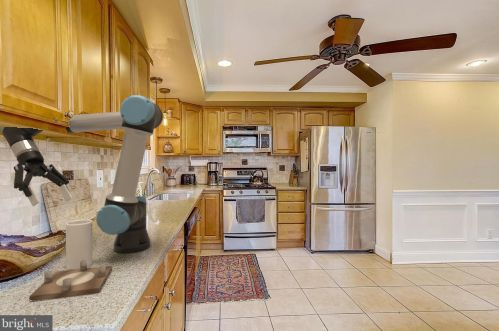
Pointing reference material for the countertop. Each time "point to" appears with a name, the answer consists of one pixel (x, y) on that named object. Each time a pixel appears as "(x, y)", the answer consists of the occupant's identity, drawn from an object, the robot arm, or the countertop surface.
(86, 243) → the cup
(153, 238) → the countertop surface
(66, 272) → the locator plate
